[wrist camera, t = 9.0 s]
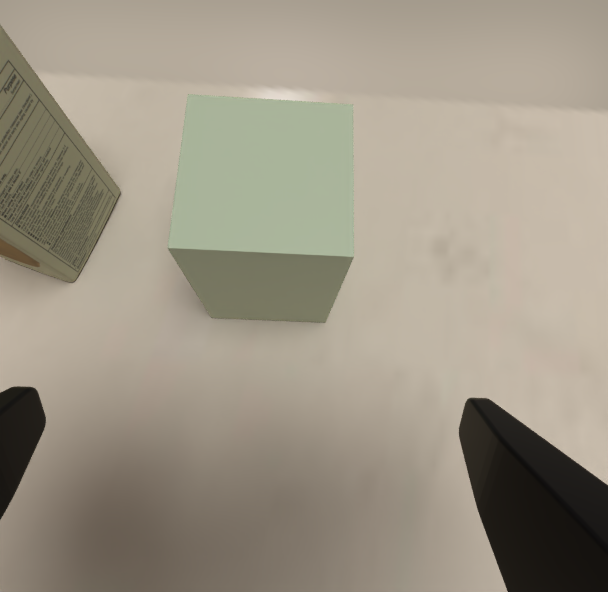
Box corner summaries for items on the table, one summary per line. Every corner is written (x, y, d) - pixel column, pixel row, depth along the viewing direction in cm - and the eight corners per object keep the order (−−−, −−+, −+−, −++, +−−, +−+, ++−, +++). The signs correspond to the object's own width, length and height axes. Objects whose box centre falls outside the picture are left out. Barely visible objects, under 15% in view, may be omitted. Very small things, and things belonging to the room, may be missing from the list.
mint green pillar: (325, 322, 24) (353, 256, 14) (211, 317, 23) (167, 247, 14) (326, 220, 25) (353, 104, 16) (221, 215, 25) (187, 94, 16)
